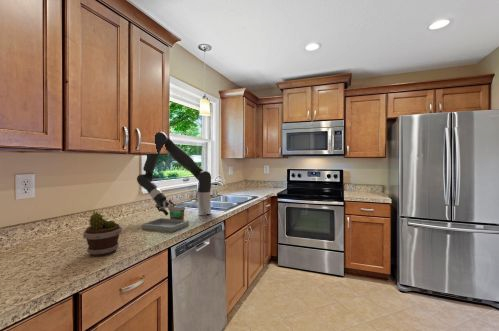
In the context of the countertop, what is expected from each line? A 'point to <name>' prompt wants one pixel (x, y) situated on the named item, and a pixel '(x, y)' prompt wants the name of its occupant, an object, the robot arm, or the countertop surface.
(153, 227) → the tray
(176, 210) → the food container
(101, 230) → the flowerpot
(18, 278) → the countertop surface
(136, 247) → the countertop surface
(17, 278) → the countertop surface
